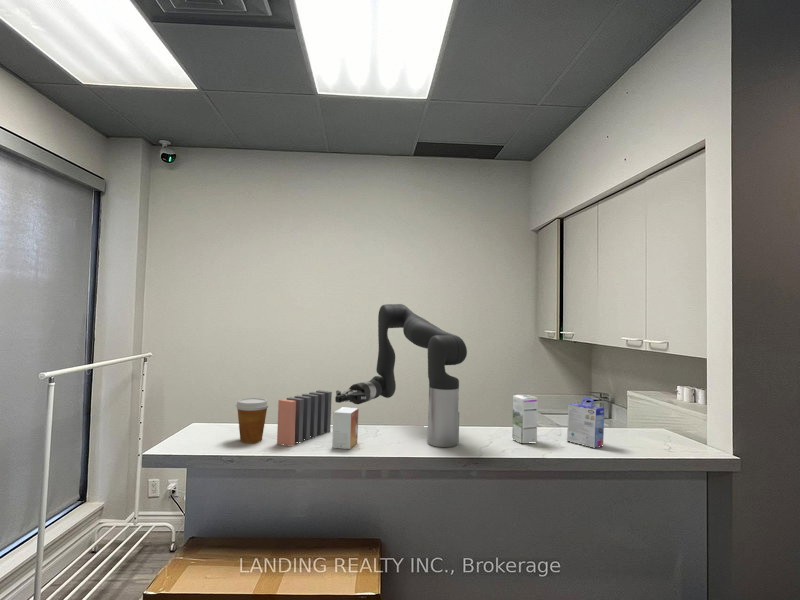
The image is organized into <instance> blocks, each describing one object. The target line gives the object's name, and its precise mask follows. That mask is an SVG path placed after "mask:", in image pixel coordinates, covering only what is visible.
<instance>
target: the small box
mask: <svg viewBox="0 0 800 600" xmlns="http://www.w3.org/2000/svg"><path fill="white" fill-rule="evenodd" d="M359 411H360V410H359V408H357V407H348V406H347V407H345V406H344V407H343V406H342V407H340V408H339V409H337V410H335V411H334V412H332V413H333V414H332V445H331V446H332V447H331V448H333V449H344V450H351V449H352V448H353V447H354V446H355V445H356V444H358V438H359V437H358V433H359V432H358V431H359V430H358V429H359Z"/></svg>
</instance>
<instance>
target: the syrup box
mask: <svg viewBox="0 0 800 600" xmlns="http://www.w3.org/2000/svg"><path fill="white" fill-rule="evenodd" d="M512 438H513V439H515V440H517V441H519V442H521V443H529V442H537V443H538V397H536V396H533V395H532V396H531V395H528V394H517V395H515V394H514V395H513V396H512ZM521 443H520V444H521Z"/></svg>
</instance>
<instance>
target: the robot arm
mask: <svg viewBox="0 0 800 600" xmlns="http://www.w3.org/2000/svg"><path fill="white" fill-rule="evenodd" d="M377 318H378V320H377V321H378V322H377V327H378V329H377V331H378V332H377V333H378V336H377V337H378V339H377V340H378V341H377V342H378V353H377V362H376V368H375V369H376V373H377V374H378V375H375V376H373V377H372V378H371V379H370V380H369V381H362V382H356V383H354V384H352V385H350V387H349V388H348V389H347V390H343V392H342V391H341V390H339V389H338V390H335V400H334V401H335V403H339V404H340V403H344V402H345V403H347V402H348V403H353V404H354V405H361V404H363V403H367V402H370V401H371V400H375V399H377V398H378V397H383V398H386V399H389V398H391V397H392V396H394V395H395V394H396V393H395V392H396V389H397V388H396V387H397V386H396V380H395V379H396V377H395V363H396V352H395V349H394V348H393V346H392V344H391V341H390V340H389V336H388V335H389V334H388V331H389V329H400V328H402V329H403V335H404V337H405V338H406V339H407V340H408V341H409V342H411V343H413V345H415V346H417V347H420V348H422V349H427V377H428V410H427V411H428V412H427V414H428V415H427V439H426V441H427V442H426V443H427V444H428V445H430V446H432V447H433V446H434V447H438V448H439V447H440V448H452V447H456V446H457V445H458V443H459V441H460V436H459V435H460V411H459V400H460V398H459V397H460V395H459V393H460V380H459V379H458V378H457V377H455V376H452V375H450V374H449V373H447V372H446V366H456V365H460V364H462V363H463V362H464V361H465V360H466V358H467V355H468V350H467V346H466V343H465V341H464V340H463V339H462V338H461V337H460V336H458V335H456V334H452V333H450V332H447V331H445V330H443V329H441V328H440V327H438V326H436V325H435V324H434V323H431V322H430V321H428V320H427V319H425V318H424V317H422V316H419V315H417V314H416V313H414V312H413V311H412V310H411V309H410V308H409V307H408V306H406V305H405V304H402V303H396V304H395V303H393V304H392V303H391V304H389V303H388V304H387V303H386V304H382V305H381V306H380V308H379V310H378V317H377ZM457 442H458V443H457Z"/></svg>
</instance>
